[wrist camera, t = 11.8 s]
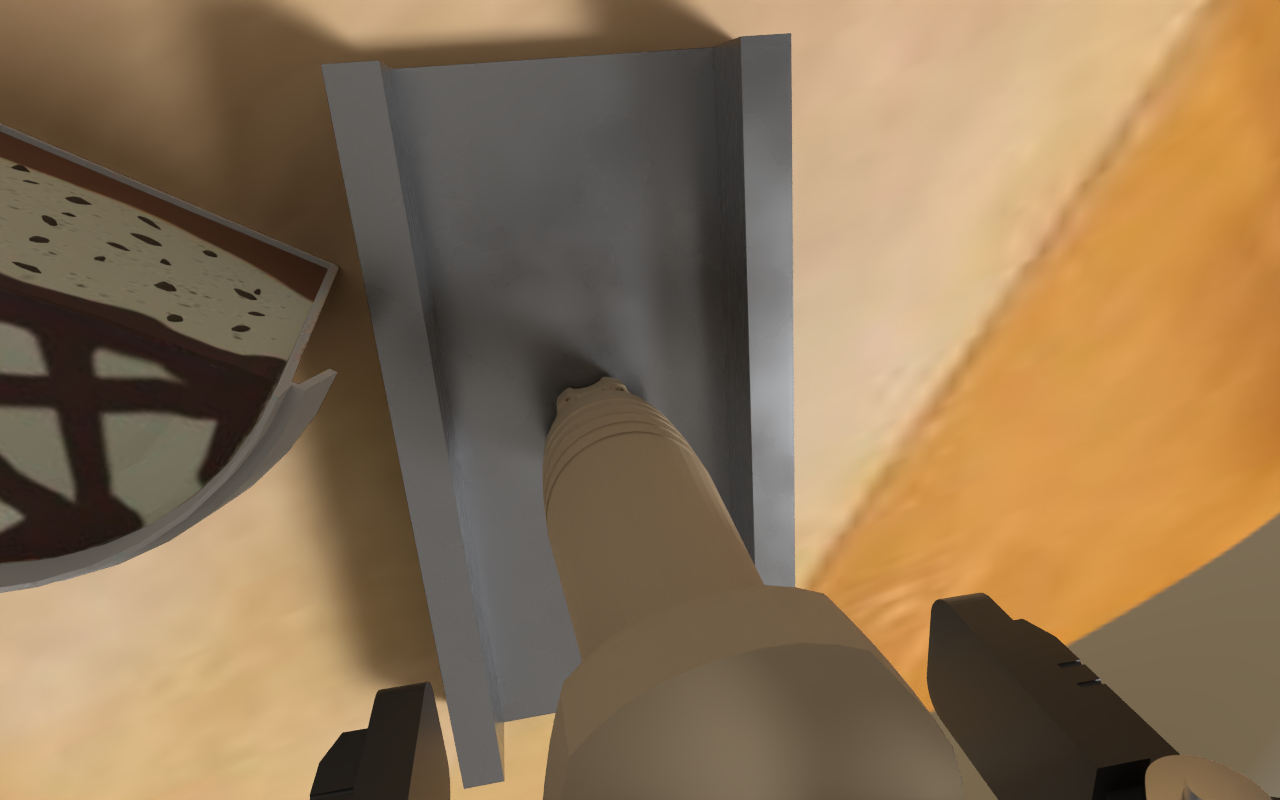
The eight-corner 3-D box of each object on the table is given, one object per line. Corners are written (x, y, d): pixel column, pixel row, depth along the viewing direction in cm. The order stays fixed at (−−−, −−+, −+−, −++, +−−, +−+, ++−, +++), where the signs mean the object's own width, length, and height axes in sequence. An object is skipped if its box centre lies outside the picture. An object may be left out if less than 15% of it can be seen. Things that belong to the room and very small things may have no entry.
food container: (-179, 307, 19) (-804, 472, 10) (-125, 70, 18) (-792, 6, 9) (316, 476, 23) (192, 713, 14) (393, 288, 22) (312, 409, 12)
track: (350, 75, 20) (320, 64, 16) (746, 47, 21) (791, 33, 18) (468, 707, 26) (464, 788, 23) (761, 655, 28) (796, 725, 25)
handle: (552, 542, 24) (643, 1122, 10) (484, 349, 21) (475, 743, 8) (701, 494, 24) (992, 983, 10) (649, 298, 22) (934, 584, 8)
